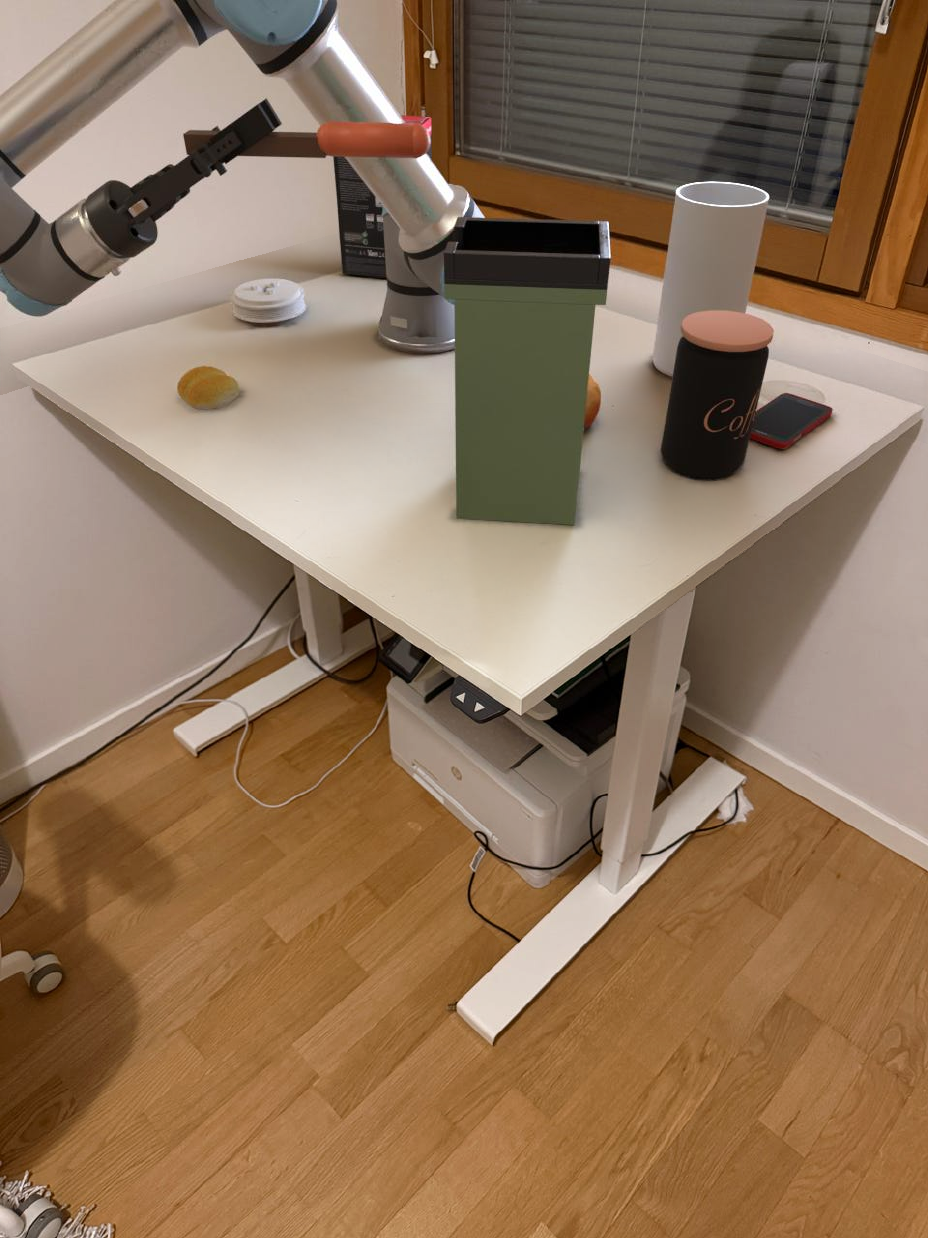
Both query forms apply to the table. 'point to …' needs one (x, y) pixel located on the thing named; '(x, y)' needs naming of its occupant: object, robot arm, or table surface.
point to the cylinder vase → (708, 257)
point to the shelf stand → (520, 399)
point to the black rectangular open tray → (528, 253)
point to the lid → (268, 300)
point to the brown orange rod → (334, 141)
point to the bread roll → (207, 388)
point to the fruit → (592, 402)
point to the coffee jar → (714, 393)
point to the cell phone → (787, 420)
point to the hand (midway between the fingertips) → (269, 114)
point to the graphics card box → (363, 217)
